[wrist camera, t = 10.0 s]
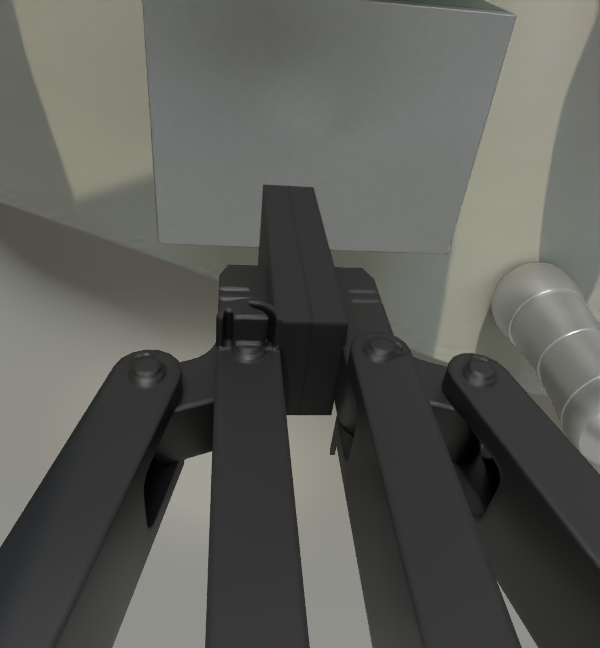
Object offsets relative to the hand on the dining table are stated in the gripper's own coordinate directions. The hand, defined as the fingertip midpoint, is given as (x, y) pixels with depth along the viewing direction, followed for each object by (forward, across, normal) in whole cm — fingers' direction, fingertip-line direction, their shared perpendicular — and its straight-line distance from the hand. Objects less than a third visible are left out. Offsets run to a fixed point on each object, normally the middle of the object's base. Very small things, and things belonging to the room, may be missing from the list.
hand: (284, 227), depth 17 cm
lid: (+11, +2, -1) cm, 11 cm away
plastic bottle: (+21, +22, -15) cm, 34 cm away
